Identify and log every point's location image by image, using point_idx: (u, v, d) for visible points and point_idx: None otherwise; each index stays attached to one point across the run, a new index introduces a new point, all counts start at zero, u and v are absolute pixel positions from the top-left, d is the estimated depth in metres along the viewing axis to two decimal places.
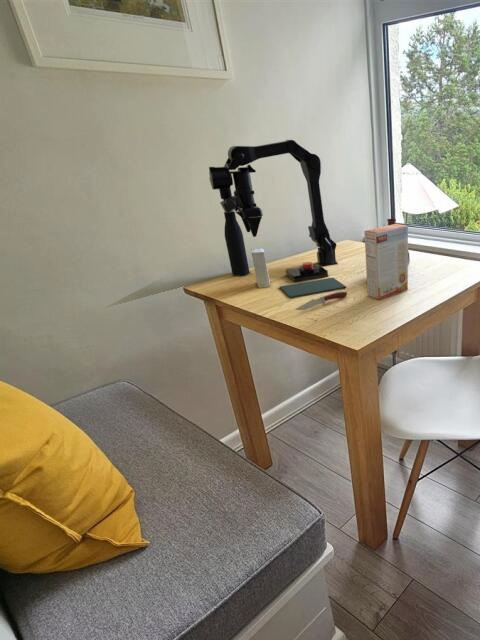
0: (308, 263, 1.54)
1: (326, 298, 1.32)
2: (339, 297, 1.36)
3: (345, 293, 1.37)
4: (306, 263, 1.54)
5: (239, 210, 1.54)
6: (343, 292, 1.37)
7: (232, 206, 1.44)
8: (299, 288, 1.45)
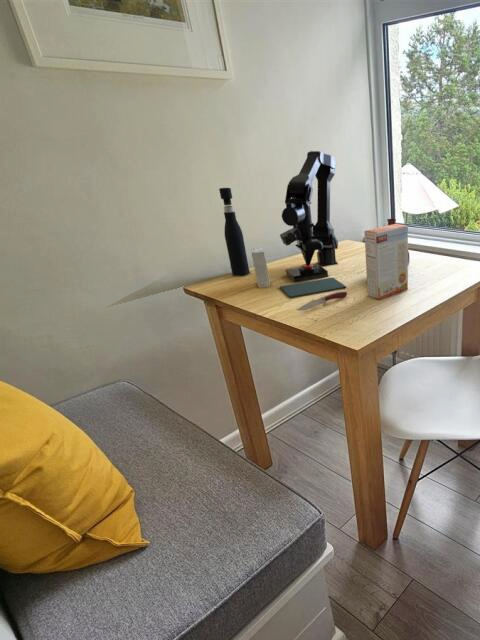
0: (308, 265, 1.55)
1: (327, 298, 1.32)
2: (339, 297, 1.36)
3: (345, 293, 1.37)
4: (306, 265, 1.55)
5: (300, 243, 1.51)
6: (343, 292, 1.37)
7: (293, 239, 1.44)
8: (299, 288, 1.45)
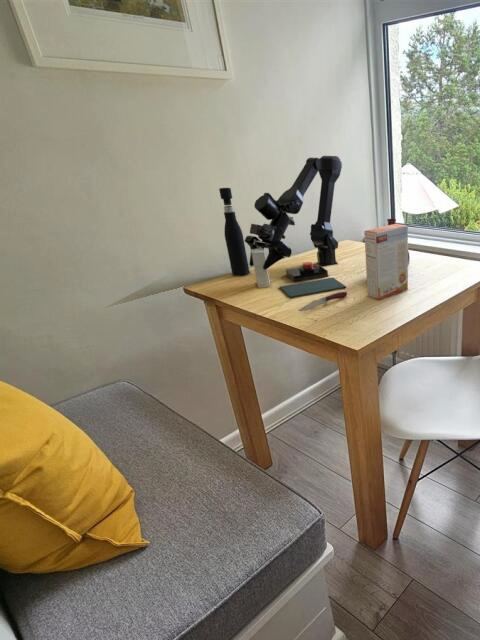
0: (308, 263, 1.54)
1: (327, 298, 1.32)
2: (340, 297, 1.36)
3: (345, 293, 1.37)
4: (306, 263, 1.54)
5: (255, 243, 1.48)
6: (343, 292, 1.37)
7: (268, 232, 1.41)
8: (299, 288, 1.45)
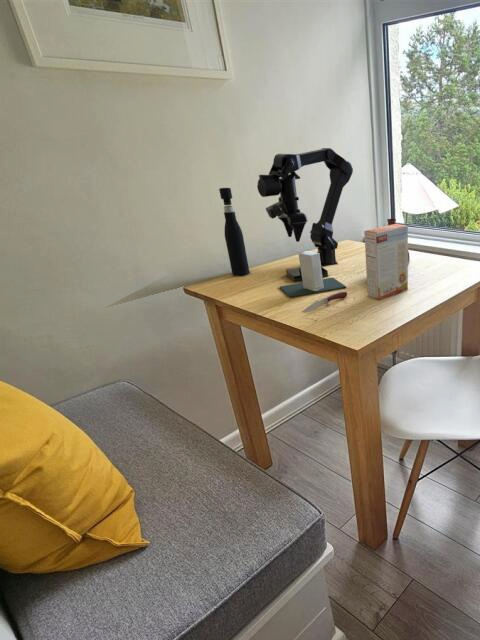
0: None
1: (329, 299, 1.32)
2: (340, 297, 1.36)
3: (345, 293, 1.37)
4: None
5: (282, 216, 1.58)
6: (344, 292, 1.37)
7: (278, 212, 1.48)
8: (299, 288, 1.45)
